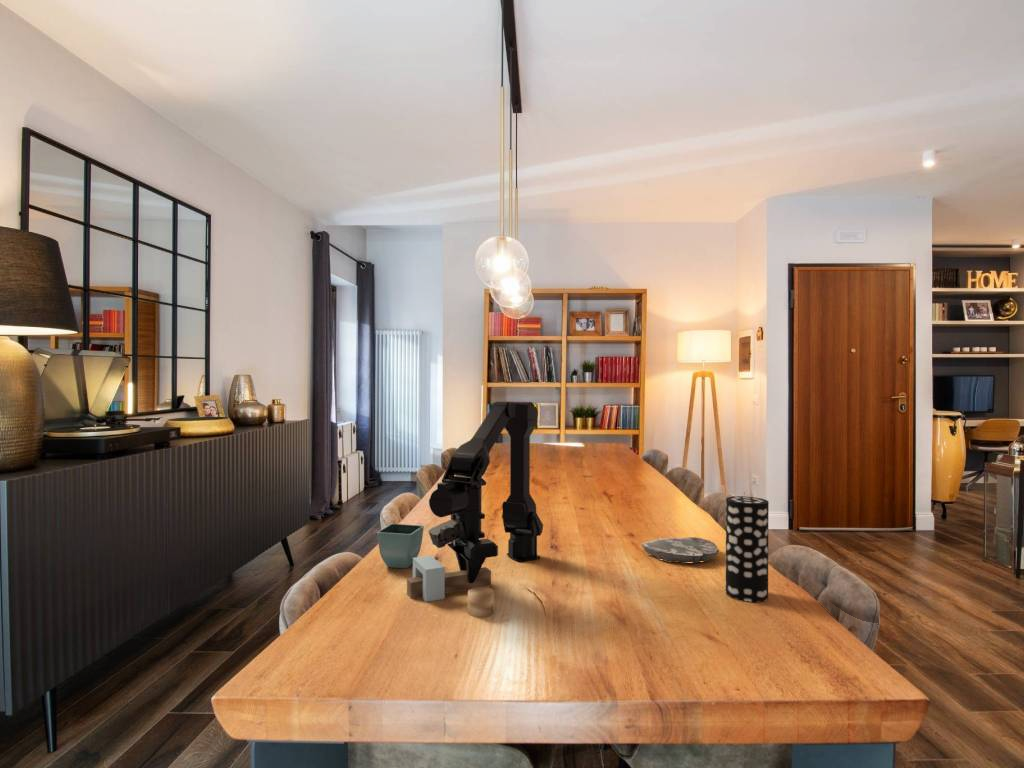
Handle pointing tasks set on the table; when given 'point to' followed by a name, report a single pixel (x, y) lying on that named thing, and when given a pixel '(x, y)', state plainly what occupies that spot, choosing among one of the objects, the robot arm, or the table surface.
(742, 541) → the white-spotted black cylinder
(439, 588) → the grey arch block
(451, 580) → the brown wooden bar
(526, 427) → the robot arm
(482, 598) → the bead
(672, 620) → the table surface
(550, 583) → the table surface
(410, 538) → the flower pot
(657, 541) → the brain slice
